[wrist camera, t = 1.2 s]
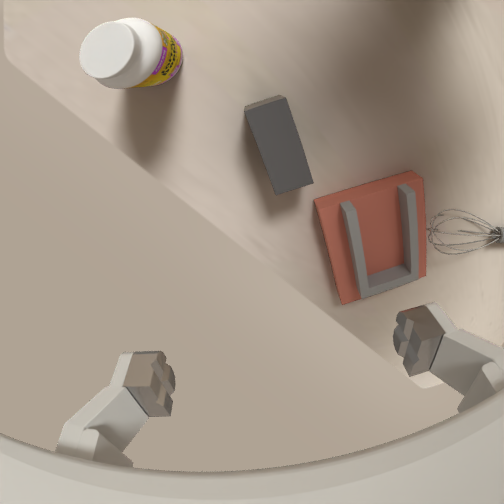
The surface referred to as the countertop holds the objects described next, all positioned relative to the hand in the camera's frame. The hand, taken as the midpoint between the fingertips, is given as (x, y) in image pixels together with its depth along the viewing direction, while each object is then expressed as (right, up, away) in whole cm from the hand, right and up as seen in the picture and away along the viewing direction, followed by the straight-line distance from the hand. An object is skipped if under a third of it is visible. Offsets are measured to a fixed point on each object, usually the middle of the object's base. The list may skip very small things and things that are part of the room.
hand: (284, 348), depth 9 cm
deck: (+16, +5, +29) cm, 34 cm away
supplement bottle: (-12, +25, +17) cm, 32 cm away
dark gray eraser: (+2, +16, +22) cm, 28 cm away
